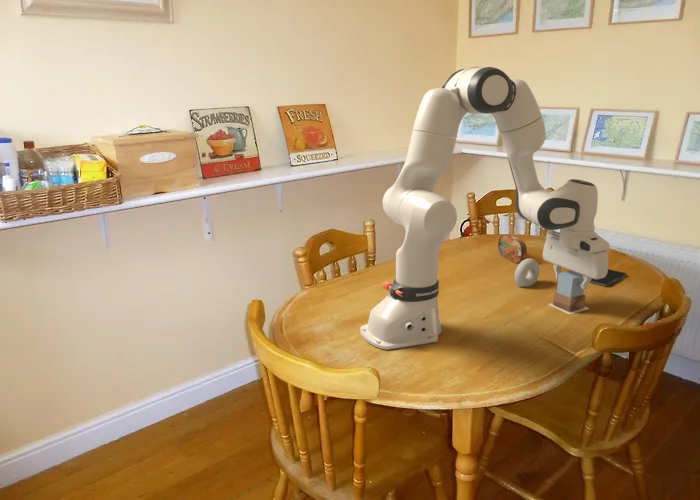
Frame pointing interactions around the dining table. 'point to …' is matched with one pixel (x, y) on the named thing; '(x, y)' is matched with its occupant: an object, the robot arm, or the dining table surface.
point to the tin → (512, 248)
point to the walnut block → (569, 302)
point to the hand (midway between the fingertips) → (570, 283)
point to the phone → (609, 278)
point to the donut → (522, 270)
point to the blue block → (570, 284)
